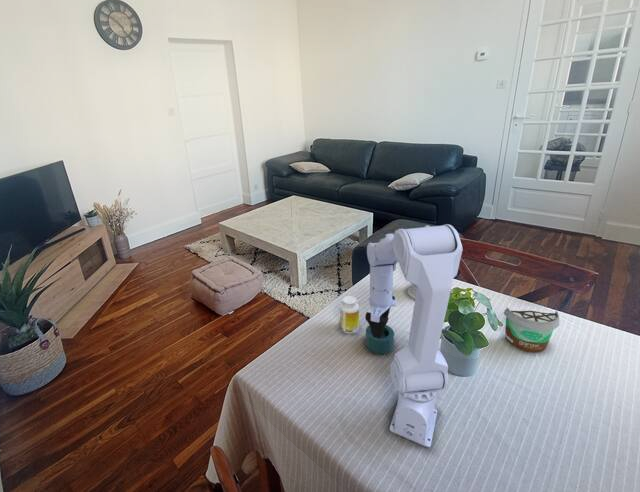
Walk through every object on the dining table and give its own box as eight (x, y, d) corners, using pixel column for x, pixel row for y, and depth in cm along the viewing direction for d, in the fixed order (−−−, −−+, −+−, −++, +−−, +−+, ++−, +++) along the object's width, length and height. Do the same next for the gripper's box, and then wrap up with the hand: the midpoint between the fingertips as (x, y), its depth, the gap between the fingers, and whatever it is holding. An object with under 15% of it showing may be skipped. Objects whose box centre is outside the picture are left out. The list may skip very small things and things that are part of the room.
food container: (507, 353, 88) (513, 321, 84) (498, 337, 93) (504, 306, 90) (562, 358, 85) (571, 325, 81) (550, 341, 90) (558, 310, 86)
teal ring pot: (389, 357, 89) (390, 344, 88) (362, 349, 93) (362, 335, 92) (396, 340, 95) (396, 327, 94) (370, 333, 99) (370, 320, 97)
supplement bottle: (362, 328, 101) (363, 299, 98) (350, 337, 98) (350, 307, 94) (348, 320, 105) (348, 292, 102) (336, 328, 102) (335, 299, 99)
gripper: (392, 303, 80) (390, 349, 84) (401, 274, 91) (399, 316, 96) (362, 297, 83) (362, 342, 88) (375, 270, 95) (374, 310, 99)
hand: (380, 328), depth 92 cm, fingers open, 7 cm apart
